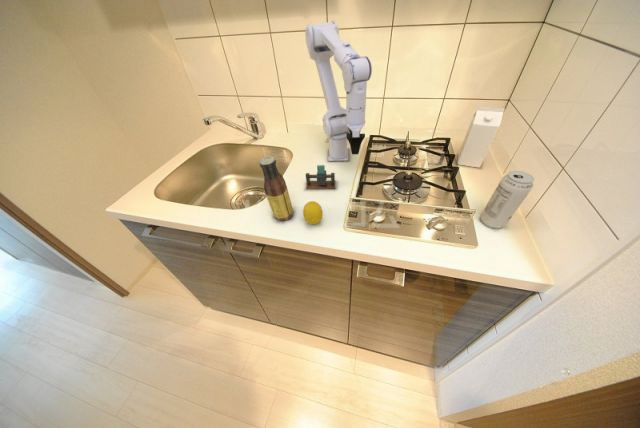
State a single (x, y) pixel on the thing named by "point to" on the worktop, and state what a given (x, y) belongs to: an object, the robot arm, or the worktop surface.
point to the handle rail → (314, 185)
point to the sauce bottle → (276, 189)
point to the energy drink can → (507, 198)
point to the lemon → (312, 212)
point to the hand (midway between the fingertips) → (354, 148)
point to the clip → (321, 175)
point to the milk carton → (480, 136)
